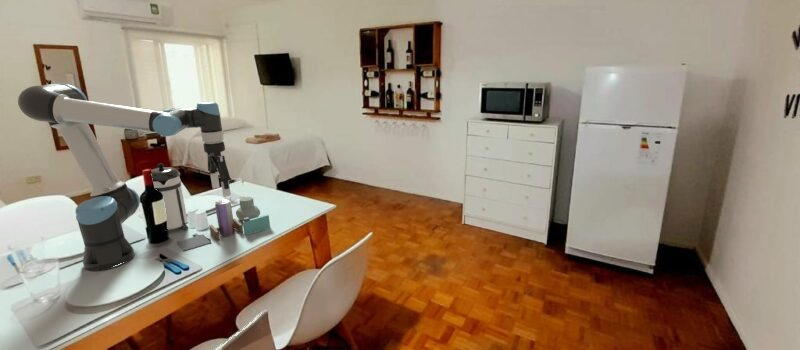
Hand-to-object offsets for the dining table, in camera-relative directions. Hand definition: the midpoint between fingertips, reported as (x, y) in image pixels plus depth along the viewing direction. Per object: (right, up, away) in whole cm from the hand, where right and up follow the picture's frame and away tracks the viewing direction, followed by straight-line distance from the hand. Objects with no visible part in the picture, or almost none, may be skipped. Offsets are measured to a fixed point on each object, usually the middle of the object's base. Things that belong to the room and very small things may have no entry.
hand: (221, 191), depth 154 cm
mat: (-10, -21, -2) cm, 23 cm away
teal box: (+12, -17, +9) cm, 23 cm away
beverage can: (0, -19, +6) cm, 20 cm away
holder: (0, -18, +6) cm, 19 cm away
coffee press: (-28, -17, +12) cm, 35 cm away
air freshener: (+3, -14, +21) cm, 25 cm away
